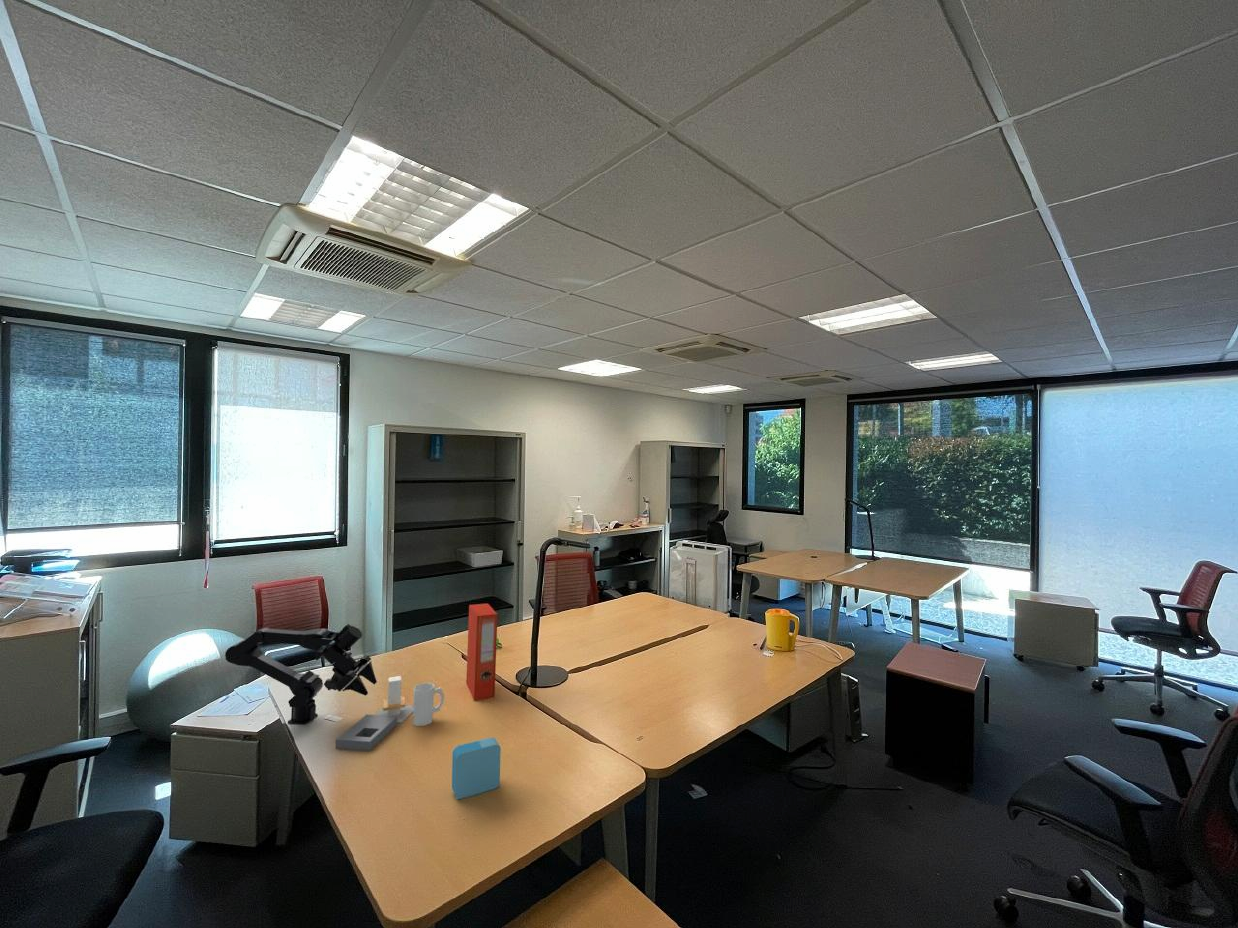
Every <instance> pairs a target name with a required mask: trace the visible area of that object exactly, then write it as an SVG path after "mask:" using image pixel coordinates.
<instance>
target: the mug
mask: <svg viewBox="0 0 1238 928" xmlns="http://www.w3.org/2000/svg"><path fill="white" fill-rule="evenodd" d="M435 686H436V685H435V684H434V683H432V682H422V683H419V684H417V685H415V686H414V687H413V713H412V715H413V717H412V718H413V720H412V721H413V722H412V724H413V725H414V726H417V727H423V726H428V725H429V724H431V723H432V722H433V720H434V714H435V713H436V712H441V708H442V706H443V704H444V700H445V694H444V692H443V690H442V687H436V688H435ZM435 694H439V696H440V702H439V704H438V705H437V706H434V702H435Z"/></svg>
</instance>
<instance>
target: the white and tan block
mask: <svg viewBox="0 0 1238 928" xmlns="http://www.w3.org/2000/svg"><path fill="white" fill-rule="evenodd" d="M387 685H388V687H387V698H386V699H383V700H382V706H383V707H382V708H383V711H387V710H388V716H393V715H399V714H400V708H404V707H405V705H406V698H405V696H404V695H403V696H402V676H401V675H398V676H397V675H396V676H391V677H388V684H387Z"/></svg>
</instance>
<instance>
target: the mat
mask: <svg viewBox="0 0 1238 928" xmlns="http://www.w3.org/2000/svg"><path fill="white" fill-rule="evenodd" d="M374 715H383V716H388V710H387V711H383V707H382V708H381V709H379V710H378V711H377V712H376V713H375V714H374ZM411 715H413V705H411V704H405V707H404V708H400V714H399V715H393V716H397V724H403V723H404V722H405V721H406V720H407V719H408V718H409V717H410V716H411Z"/></svg>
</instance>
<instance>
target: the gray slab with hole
mask: <svg viewBox="0 0 1238 928" xmlns="http://www.w3.org/2000/svg"><path fill="white" fill-rule="evenodd" d="M396 726H398V723H397V716H383V715H375V714H365V715H364V716H363V717H362V718H361V719H359V720H358V721H357V722H356V723H354V724H353V725H352V726H350V728H349V729H347V730H346V731H345V732H344V733H342V734H341V735H339V737H337V738H336V739H335V749H336V750H348V751H361V752H362V751H364V752H365V751H366V752H370V751H372V749H373V748H375V747H376V746H377V744H379V743H380V742H381V741H382V740H383V739H384V738H385V737H386V736H387V735H388V734H389V733H390V732H392V730H393V729H395V728H396Z"/></svg>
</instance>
